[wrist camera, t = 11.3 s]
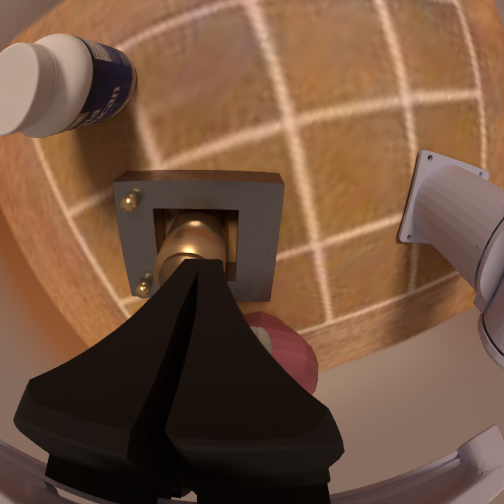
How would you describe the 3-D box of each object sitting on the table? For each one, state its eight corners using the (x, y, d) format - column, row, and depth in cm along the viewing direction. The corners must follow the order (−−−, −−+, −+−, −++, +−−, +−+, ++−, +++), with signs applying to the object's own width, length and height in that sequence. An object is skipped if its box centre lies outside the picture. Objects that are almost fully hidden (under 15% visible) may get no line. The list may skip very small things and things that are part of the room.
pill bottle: (105, 136, 16) (12, 178, 8) (60, 96, 14) (-39, 117, 5) (154, 74, 14) (75, 58, 6) (103, 36, 12) (11, 11, 4)
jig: (278, 173, 18) (287, 189, 15) (266, 281, 23) (271, 310, 20) (126, 171, 17) (105, 187, 14) (140, 277, 22) (128, 304, 19)
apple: (291, 277, 23) (318, 379, 14) (313, 339, 27) (335, 425, 18) (188, 310, 24) (173, 409, 16) (227, 363, 28) (227, 447, 20)
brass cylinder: (231, 205, 19) (229, 255, 14) (224, 253, 21) (220, 312, 16) (175, 198, 19) (150, 244, 13) (172, 247, 21) (152, 303, 15)
